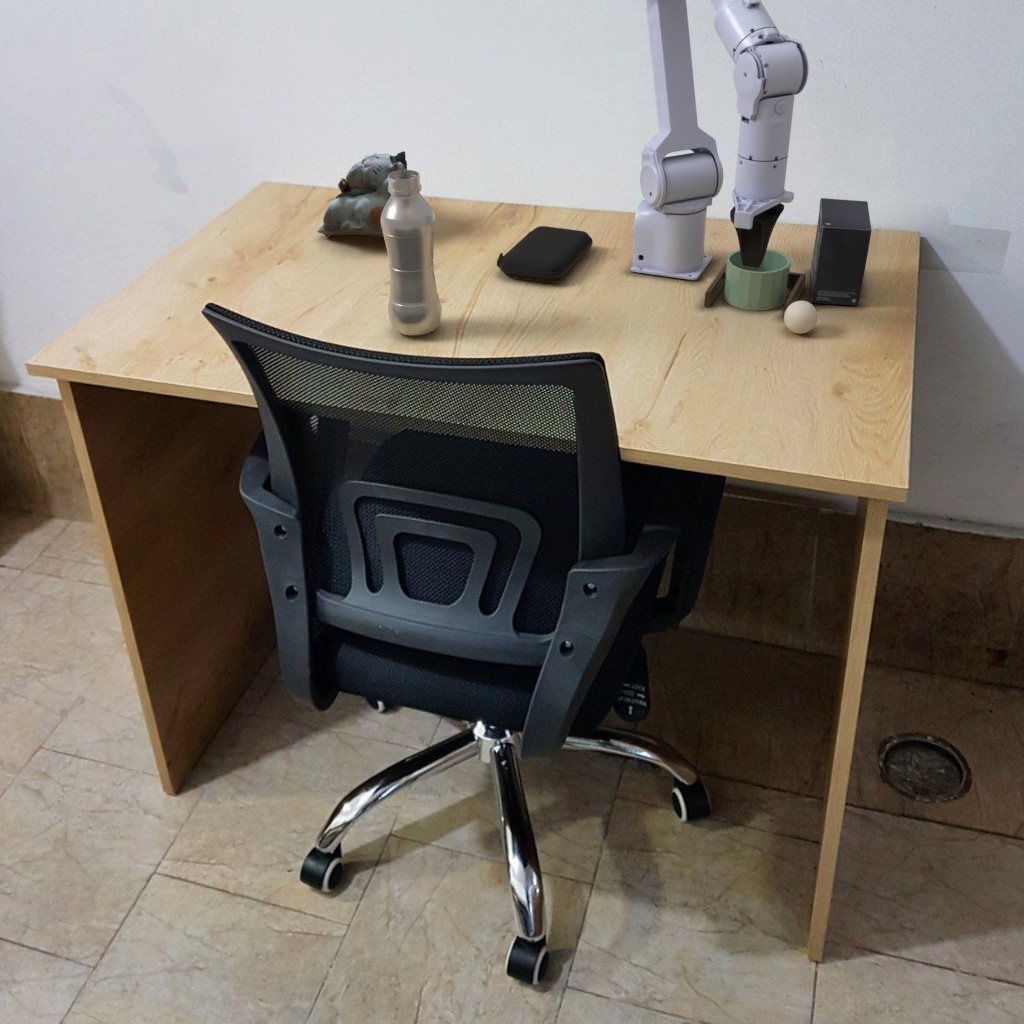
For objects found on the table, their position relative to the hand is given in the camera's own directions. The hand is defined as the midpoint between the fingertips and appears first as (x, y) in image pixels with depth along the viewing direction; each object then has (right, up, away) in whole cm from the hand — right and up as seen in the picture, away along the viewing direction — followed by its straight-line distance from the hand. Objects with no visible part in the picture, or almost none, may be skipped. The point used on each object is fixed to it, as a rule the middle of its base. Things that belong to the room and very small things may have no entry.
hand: (752, 264), depth 138 cm
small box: (+13, -1, +11) cm, 18 cm away
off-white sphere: (+6, -6, 0) cm, 9 cm away
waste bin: (+2, -2, +10) cm, 11 cm away
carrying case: (-25, +5, +22) cm, 33 cm away
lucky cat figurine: (-51, +11, +32) cm, 61 cm away
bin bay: (+3, -2, +10) cm, 11 cm away
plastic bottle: (-41, -7, +5) cm, 42 cm away
